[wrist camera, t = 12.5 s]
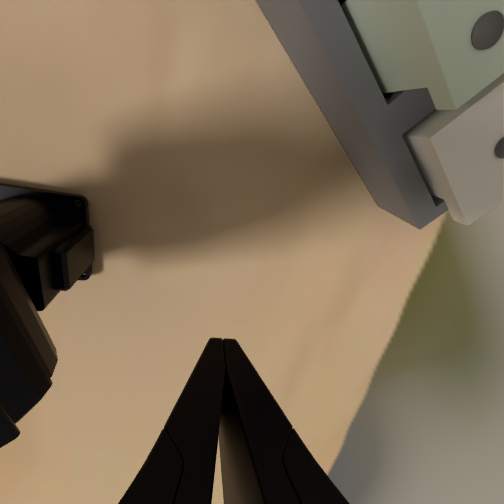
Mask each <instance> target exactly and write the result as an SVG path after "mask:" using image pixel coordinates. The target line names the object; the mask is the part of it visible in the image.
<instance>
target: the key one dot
mask: <svg viewBox="0 0 504 504" xmlns="http://www.w3.org/2000/svg"><path fill="white" fill-rule="evenodd" d="M402 136H403V138H404V140H405V143H406V145H407V147H408V149H409V151H410V153H411V155H412V157H413V159H414V161H415V164H416V166H417V168H418V170H419V172H420V174H421V176H422V178H423V180H424V183H425V185H426V187H427V189H428V191H429V193H430V195H433V196H436V197H439V198H441V199H444V201H445V203H446V205H447V207H448V210H449V212H450V214H451V216H452V218H453V220H455V221H457V222H459V223H462V224H464V225H466V226H468V225H470V224H471V223H473V222H474V221H476V220H477V219H479V218H480V217H482V216H483V215H485V214H486V213H487V212H489V211H491V210H492V209H494V208H495V207H497V206H498V205H500V204H501V203H503V202H504V73H503V74H502V75H501V76H499V77H498V78H497V79H496V80H494V81H493V82H492V83H490V84H489V85H488V86H486V87H485V88H484V89H483V90H481V91H480V92H479V93H477V94H476V95H475V96H473V97H472V98H471V99H470V100H468V101H467V102H466V103H464V104H463V105H462V106H460V107H459V108H458V109H457V110H436V109H435V110H433V111H432V112H431V113H430V114H428V115H427V116H426V117H425V118H423V119H422V120H421V121H419V122H418V123H417V124H416V125H414V126H413V127H412V128H410V129H409V130H408V131H407V132H405V133H404V134H403V135H402Z"/></svg>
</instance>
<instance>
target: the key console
mask: <svg viewBox="0 0 504 504" xmlns="http://www.w3.org/2000/svg"><path fill="white" fill-rule="evenodd" d="M256 2H257V3H258V5H259V7H260V9H261V10H262V12H263V14H264V15H265V17H266V19H267V20H268V22H269V24H270V25H271V27H272V29H273V30H274V32H275V34H276V35H277V37H278V39H279V41H280V42H281V44H282V46H283V47H284V49H285V51H286V52H287V54H288V56H289V57H290V59H291V61H292V62H293V64H294V66H295V67H296V69H297V71H298V73H299V74H300V76H301V78H302V79H303V81H304V83H305V84H306V86H307V88H308V89H309V91H310V93H311V94H312V96H313V98H314V99H315V101H316V103H317V105H318V106H319V108H320V110H321V111H322V113H323V115H324V116H325V118H326V120H327V121H328V123H329V125H330V126H331V128H332V130H333V131H334V133H335V135H336V137H337V138H338V140H339V142H340V143H341V145H342V147H343V148H344V150H345V152H346V153H347V155H348V157H349V158H350V160H351V162H352V163H353V165H354V167H355V169H356V170H357V172H358V174H359V175H360V177H361V179H362V180H363V182H364V184H365V185H366V187H367V189H368V190H369V192H370V194H371V195H372V197H373V199H374V201H375V202H376V204H377V206H378V207H380V208H382V209H384V210H386V211H388V212H389V213H391V214H393V215H395V216H397V217H398V218H400V219H402V220H404V221H406V222H407V223H409V224H411V225H413V226H415V227H416V228H418V229H421V228H423V227H424V226H426V225H427V224H428V223H430V222H431V221H433V220H434V219H436V218H437V217H439V216H440V215H441V214H443V213H444V212H446V211H447V210H448V207H447V205H446V203H445V201H444V199H441V198H439V197H436V196H433V195H430V193H429V191H428V189H427V187H426V185H425V183H424V180H423V178H422V176H421V174H420V172H419V170H418V168H417V166H416V164H415V161H414V159H413V157H412V155H411V153H410V151H409V149H408V147H407V145H406V143H405V140H404V138H403V136H402V135H403V134H404V133H405V132H407V131H408V130H409V129H410V128H412V127H413V126H414V125H416V124H417V123H418V122H419V121H421V120H422V119H423V118H425V117H426V116H427V115H428V114H430V113H431V112H432V111H433V110H435V109H436V108H435V105H434V103H433V100H432V98H431V95H430V93H429V90H428V88H427V87H426V88H419V89H411V90H404V91H396V92H393V93H392V94H391V95H390V96H388V97H387V98H386V99H385V98H384V96H383V94H382V92H381V90H380V88H379V86H378V84H377V82H376V79H375V77H374V75H373V73H372V71H371V69H370V67H369V65H368V63H367V61H366V58H365V56H364V54H363V52H362V50H361V48H360V46H359V44H358V42H357V39H356V37H355V35H354V33H353V31H352V29H351V27H350V25H349V23H348V21H347V18H346V16H345V14H344V12H343V10H342V8H341V6H340V4H339V2H338V0H256Z"/></svg>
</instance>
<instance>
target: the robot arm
mask: <svg viewBox="0 0 504 504" xmlns="http://www.w3.org/2000/svg"><path fill="white" fill-rule="evenodd" d="M76 200H78V201H80V202H81V206H79V205H77V204H76ZM94 259H95V257H94V238H93V229H92V227H91V226H89V214H88V202H87V200H86V198H85V197H83V196H81V195H76V194H69V193H62V192H56V191H49V190H42V189H35V188H28V187H21V186H14V185H8V184H1V183H0V448H1V447H2V446H4V445H6V444H8V443H9V442H11V441H13V440H14V439H16V438H17V437H18V436H19V434H20V431H19V429H18V428H17V426H16V425H15V424H16V423H17V422H18V421H19V420H20V419H22V418H23V417H24V416H25V415H26V414H27V413H28V412H29V411H30V410H31V409H32V408H33V407H34V406H35V405H36V404H37V403H38V402H39V401H40V400H41V399H42V397H43V396H44V395H45V394H46V392H47V391H48V390H49V388H50V387H51V385H52V381H51V379H50V378H51V377H52V375H53V372H54V369H55V366H56V363H57V361H58V359H57V353H56V348H55V346H54V344H53V342H52V340H51V338H50V336H49V334H48V332H47V330H46V328H45V326H44V324H43V322H42V320H41V318H40V316H39V314H38V312H37V311H42V310H44V309H45V308H46V307H47V305H48V304H49V303H50V302H51V301H52V300H53V299H54V297H55V296H56V295H57V294H58V293H59V292H60V291H67V290H68V289H70V288H71V287H72V286H73V285H74V283H75V282H76V281H77V280H87V279H88V278H89V277H90V276H91V274H92V267H91V263H92V262H93V261H94ZM83 273H86V275H83ZM218 435H219V447H220V459H221V472H222V485H223V498H224V504H349V502H348V501H347V500H346V499H345V497H344V496H343V495H342V494H341V493H340V491H339V490H338V489H337V487H336V486H335V485H334V484H333V482H332V481H331V480H330V479H329V477H328V476H327V475H326V473H325V472H324V471H323V469H322V468H321V467H320V465H319V464H318V463H317V461H316V460H315V459H314V457H313V456H312V454H311V453H310V452H309V450H308V449H307V447H306V446H305V444H304V443H303V441H302V440H301V438H300V437H299V435H298V434H297V432H296V431H295V429H292V425H291V423H290V422H289V420H288V419H287V417H286V416H285V414H284V412H283V411H282V409H281V408H280V406H279V405H278V403H277V402H276V400H275V399H274V397H273V396H272V394H271V393H270V391H269V390H268V388H267V386H266V385H265V383H264V382H263V380H262V379H261V377H260V376H259V374H258V373H257V371H256V370H255V368H254V367H253V365H252V363H251V362H250V360H249V359H248V357H247V356H246V354H245V353H244V351H243V350H242V348H241V347H240V345H239V344H238V342H237V341H236V340H235V339H227V338H225V339H223V340H222V338H210V339H209V341H208V343H207V344H206V346H205V348H204V350H203V352H202V354H201V356H200V358H199V360H198V362H197V364H196V366H195V368H194V370H193V372H192V374H191V375H190V377H189V379H188V381H187V383H186V385H185V387H184V389H183V391H182V393H181V395H180V397H179V399H178V401H177V403H176V405H175V406H174V408H173V410H172V412H171V414H170V416H169V418H168V420H167V422H166V424H165V426H164V429H163V430H162V431H161V433H160V435H159V437H158V439H157V441H156V443H155V445H154V446H153V448H152V450H151V452H150V454H149V455H148V457H147V459H146V461H145V463H144V464H143V466H142V468H141V469H140V471H139V472H138V474H137V476H136V477H135V479H134V480H133V482H132V483H131V485H130V487H129V488H128V490H127V491H126V493H125V494H124V496H123V497H122V499H121V500H120V502H119V503H118V504H211V501H212V492H213V482H214V473H215V464H216V454H217V445H218Z"/></svg>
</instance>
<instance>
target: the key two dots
mask: <svg viewBox="0 0 504 504" xmlns="http://www.w3.org/2000/svg"><path fill="white" fill-rule="evenodd" d="M340 6H341V8H342V10H343V12H344V14H345V16H346V18H347V21H348V23H349V25H350V27H351V29H352V31H353V33H354V35H355V37H356V39H357V42H358V44H359V46H360V48H361V50H362V52H363V54H364V56H365V58H366V61H367V63H368V65H369V67H370V69H371V71H372V73H373V75H374V77H375V79H376V82H377V84H378V86H379V88H380V90H381V92H382V93H389V92H396V91H404V90H411V89H419V88H426V87H427V88H428V90H429V93H430V95H431V98H432V100H433V103H434V105H435V108H436V110H457V109H458V108H459V107H460V106H462V105H463V104H464V103H466V102H467V101H468V100H470V99H471V98H472V97H473V96H475V95H476V94H477V93H479V92H480V91H481V90H483V89H484V88H485V87H486V86H488V85H489V84H490V83H492V82H493V81H494V80H496V79H497V78H498V77H499V76H501V75H502V74H503V73H504V0H346V1H344V2H343V3H342V4H341V5H340Z"/></svg>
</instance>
